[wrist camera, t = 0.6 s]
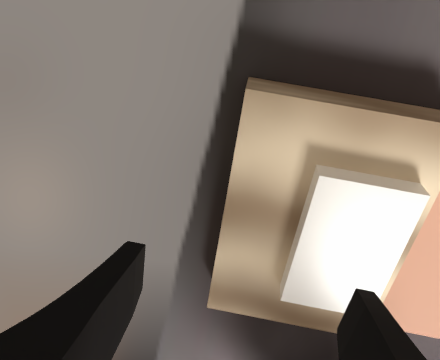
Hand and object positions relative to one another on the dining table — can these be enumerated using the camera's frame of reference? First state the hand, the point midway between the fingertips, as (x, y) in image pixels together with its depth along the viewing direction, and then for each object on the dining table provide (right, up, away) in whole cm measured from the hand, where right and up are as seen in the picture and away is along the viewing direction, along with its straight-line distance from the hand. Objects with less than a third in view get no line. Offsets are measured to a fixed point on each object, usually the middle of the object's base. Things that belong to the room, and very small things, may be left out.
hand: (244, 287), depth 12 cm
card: (+6, 0, +7) cm, 9 cm away
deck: (+5, +2, +9) cm, 10 cm away
